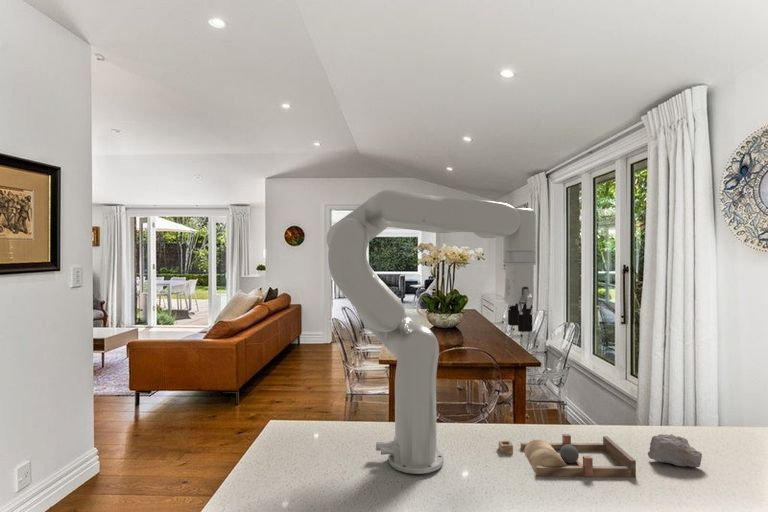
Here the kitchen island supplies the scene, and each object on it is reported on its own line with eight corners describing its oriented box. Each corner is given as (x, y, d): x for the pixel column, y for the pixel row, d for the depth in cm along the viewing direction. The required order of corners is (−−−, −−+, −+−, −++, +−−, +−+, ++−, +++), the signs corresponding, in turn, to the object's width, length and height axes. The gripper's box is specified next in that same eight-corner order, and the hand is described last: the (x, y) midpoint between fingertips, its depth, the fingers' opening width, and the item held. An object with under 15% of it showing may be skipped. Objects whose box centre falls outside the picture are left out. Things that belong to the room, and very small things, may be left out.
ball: (571, 445, 100) (585, 456, 100) (564, 438, 104) (578, 449, 104) (560, 459, 100) (574, 470, 100) (553, 451, 104) (567, 462, 104)
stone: (708, 470, 98) (709, 443, 98) (666, 471, 97) (667, 443, 97) (680, 455, 106) (680, 430, 106) (641, 455, 105) (642, 430, 105)
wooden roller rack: (537, 499, 96) (537, 457, 96) (520, 470, 109) (520, 433, 109) (636, 500, 95) (636, 458, 95) (607, 470, 108) (606, 434, 108)
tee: (501, 455, 106) (501, 445, 106) (498, 450, 109) (498, 440, 109) (513, 455, 106) (512, 445, 106) (510, 450, 109) (510, 440, 109)
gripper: (496, 258, 118) (496, 323, 118) (513, 258, 101) (512, 334, 101) (525, 258, 118) (525, 323, 118) (546, 259, 101) (546, 334, 100)
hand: (519, 328), depth 109 cm, fingers open, 9 cm apart
